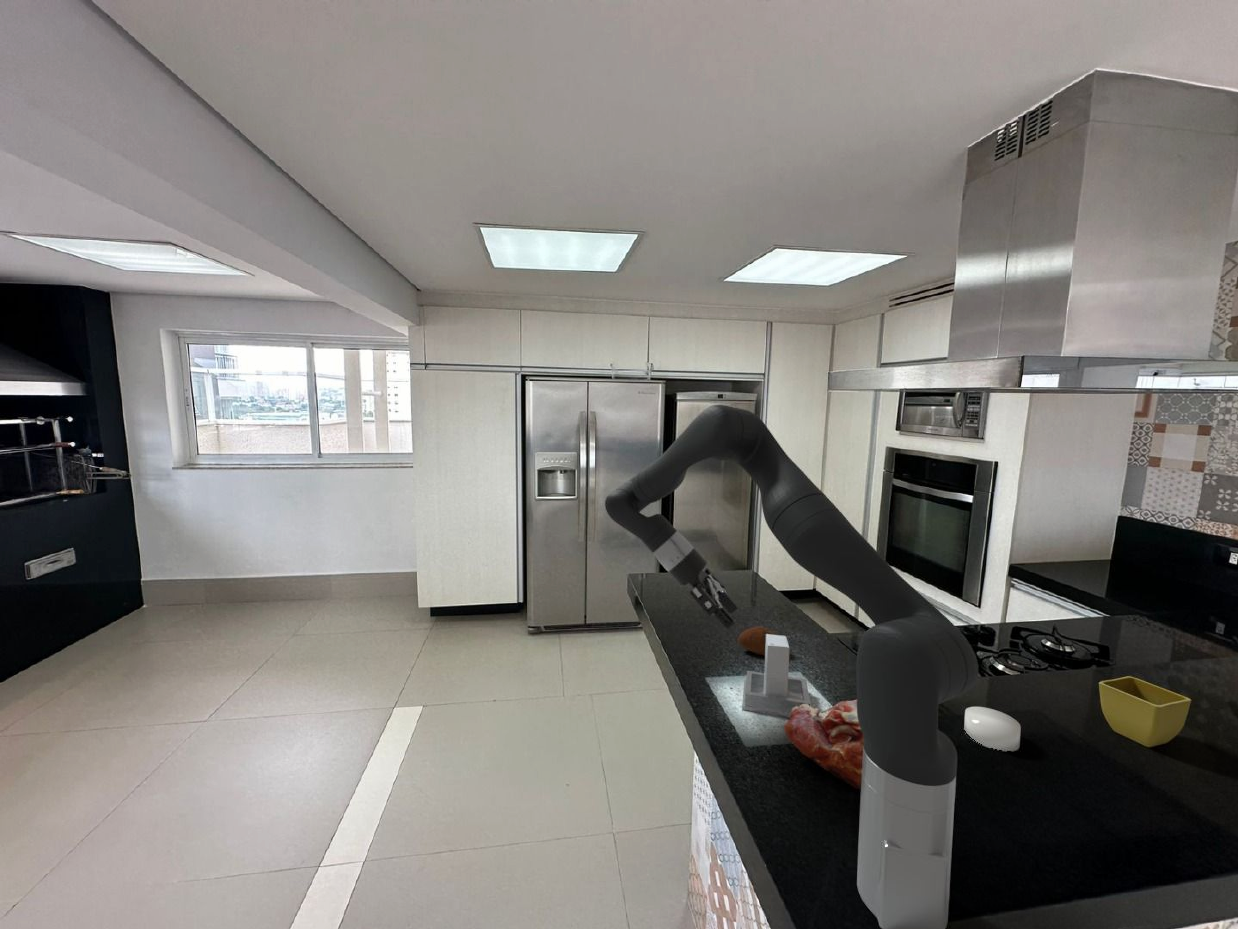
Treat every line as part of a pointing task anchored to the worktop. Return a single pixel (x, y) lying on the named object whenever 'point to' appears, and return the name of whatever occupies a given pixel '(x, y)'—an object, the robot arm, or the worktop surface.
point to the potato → (755, 639)
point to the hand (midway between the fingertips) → (733, 617)
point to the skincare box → (776, 666)
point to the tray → (773, 704)
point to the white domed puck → (992, 728)
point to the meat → (830, 739)
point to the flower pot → (1143, 710)
